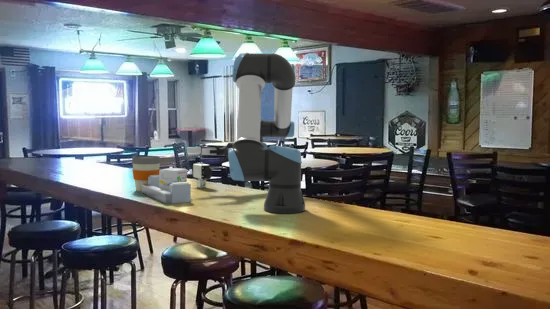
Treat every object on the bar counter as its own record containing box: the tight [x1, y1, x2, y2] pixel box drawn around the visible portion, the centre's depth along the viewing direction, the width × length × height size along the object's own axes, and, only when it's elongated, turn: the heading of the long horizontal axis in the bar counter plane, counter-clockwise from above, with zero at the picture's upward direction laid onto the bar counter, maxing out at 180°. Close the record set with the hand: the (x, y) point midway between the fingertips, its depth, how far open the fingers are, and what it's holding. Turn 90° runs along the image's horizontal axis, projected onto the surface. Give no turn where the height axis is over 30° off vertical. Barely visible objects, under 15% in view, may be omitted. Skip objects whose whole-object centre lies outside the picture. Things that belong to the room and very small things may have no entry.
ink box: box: [159, 167, 188, 192], centre depth 211 cm, size 8×8×12 cm
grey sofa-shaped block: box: [148, 175, 192, 204], centre depth 210 cm, size 30×8×8 cm, turn 31°
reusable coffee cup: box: [131, 155, 161, 192], centre depth 228 cm, size 13×13×15 cm
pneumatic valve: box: [191, 161, 213, 189], centre depth 239 cm, size 6×12×12 cm, turn 37°
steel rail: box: [141, 184, 173, 205], centre depth 207 cm, size 30×3×4 cm, turn 31°
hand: (194, 151), depth 217 cm, fingers open, 13 cm apart
